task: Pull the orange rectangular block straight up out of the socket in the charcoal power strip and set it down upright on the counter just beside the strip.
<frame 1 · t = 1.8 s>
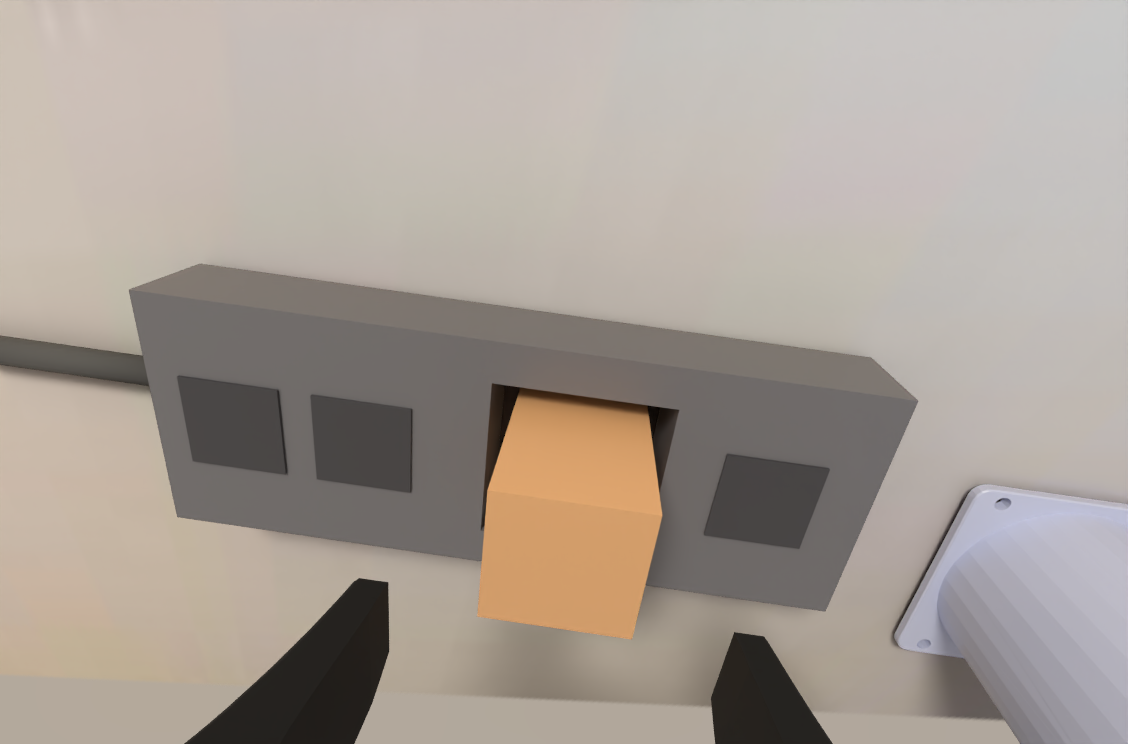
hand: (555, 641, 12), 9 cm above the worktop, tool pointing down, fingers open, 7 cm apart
orange rectangular block: (577, 424, 20), resting in power strip
power strip: (521, 417, 20), on the worktop
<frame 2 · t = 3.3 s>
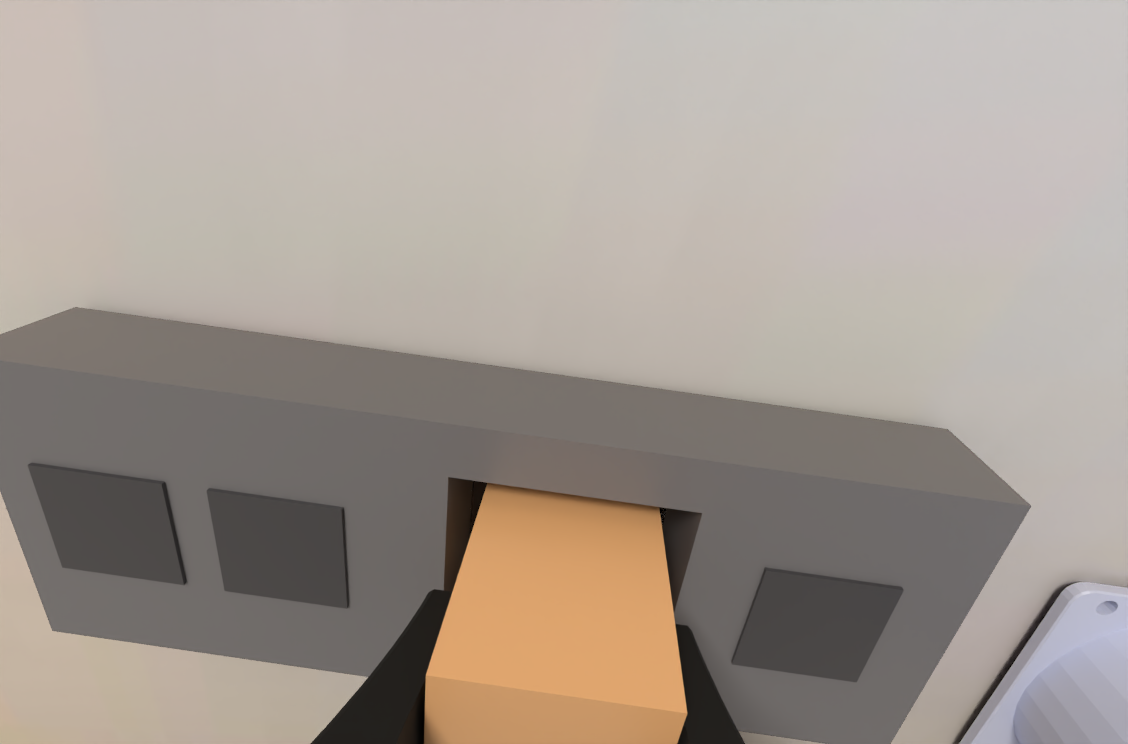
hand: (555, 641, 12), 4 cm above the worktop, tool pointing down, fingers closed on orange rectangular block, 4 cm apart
orange rectangular block: (567, 506, 16), resting in power strip, touching gripper
power strip: (497, 496, 16), on the worktop
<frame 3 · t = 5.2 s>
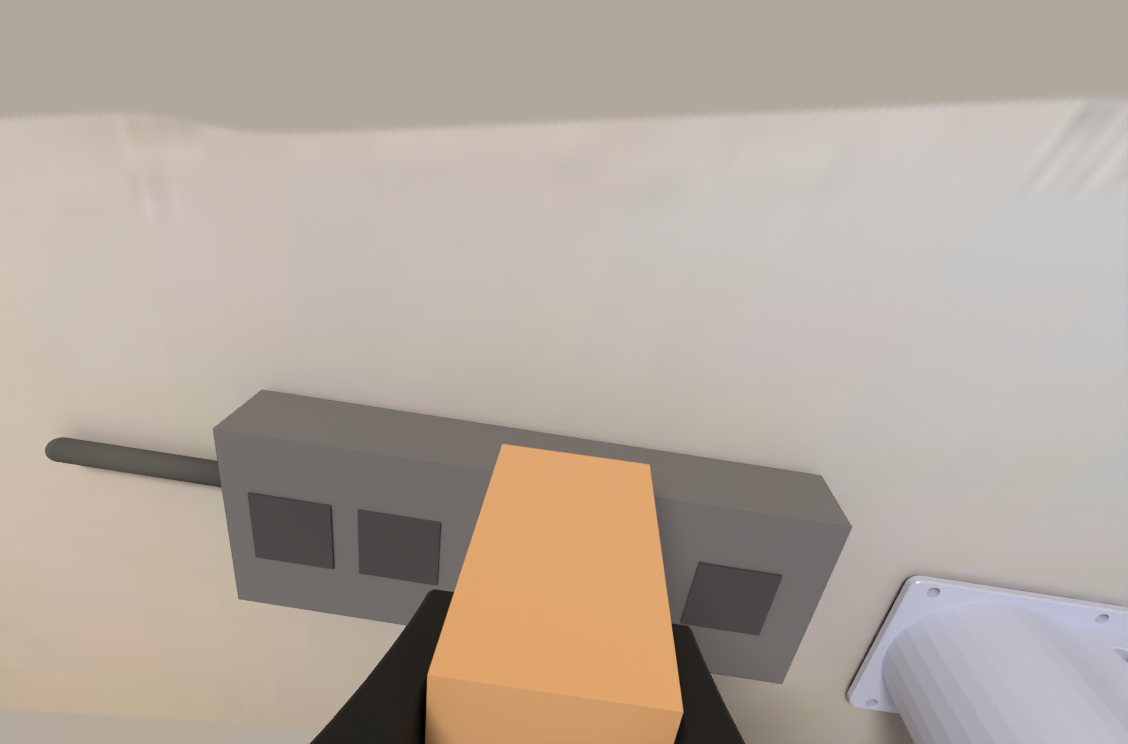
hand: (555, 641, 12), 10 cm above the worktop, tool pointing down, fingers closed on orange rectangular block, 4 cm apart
orange rectangular block: (566, 514, 16), point 6 cm above the worktop, touching gripper
power strip: (529, 513, 23), on the worktop
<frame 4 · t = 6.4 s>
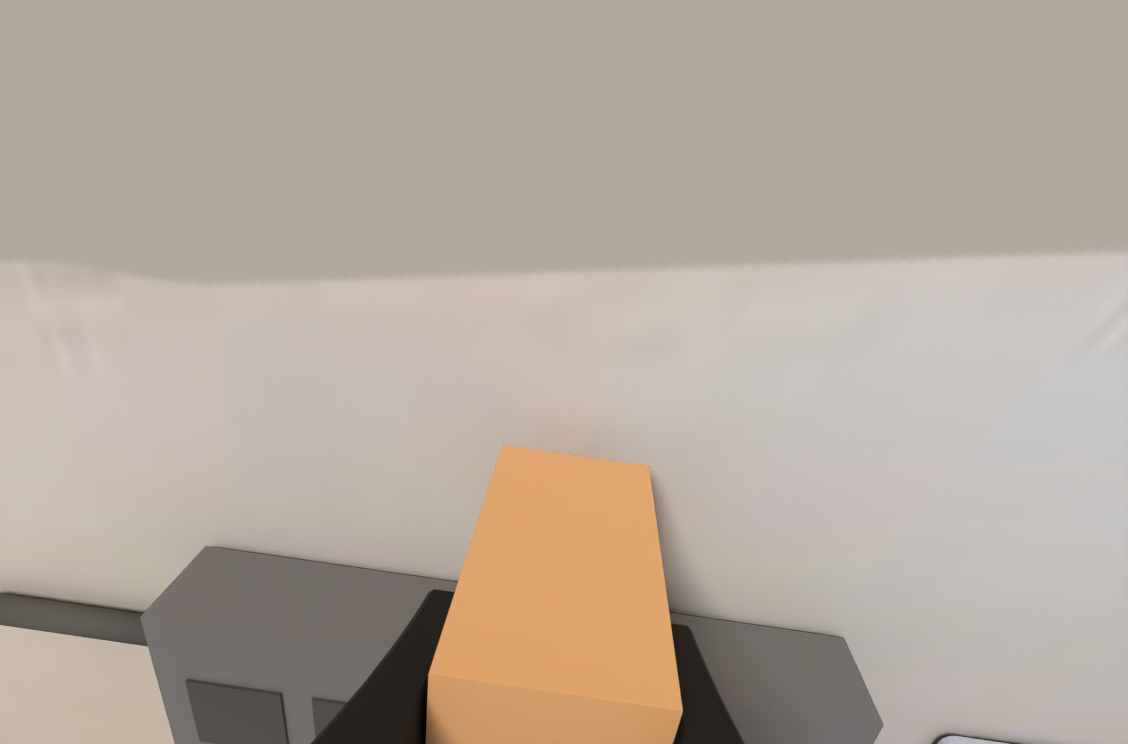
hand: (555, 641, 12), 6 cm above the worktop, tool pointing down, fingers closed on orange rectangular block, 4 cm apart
orange rectangular block: (566, 515, 16), point 1 cm above the worktop, touching gripper
power strip: (513, 670, 21), on the worktop
when the fingers open (6 cm above the worktop, at t = 7.1 s): orange rectangular block drops 1 cm, on the worktop.
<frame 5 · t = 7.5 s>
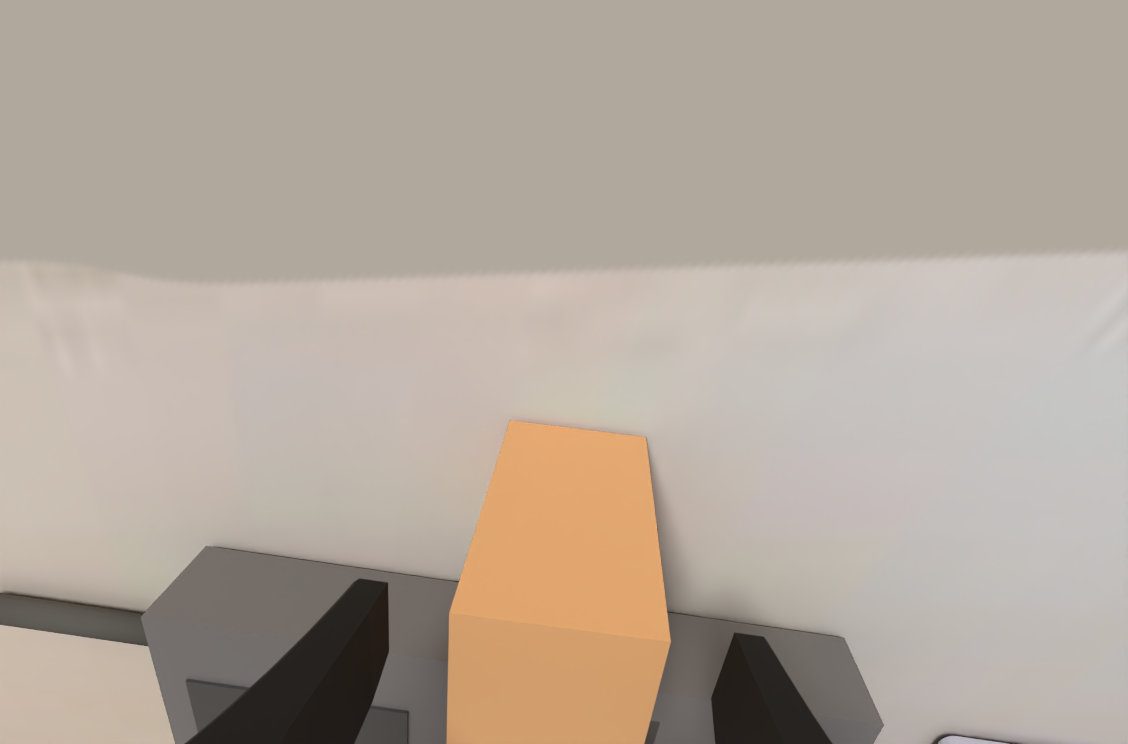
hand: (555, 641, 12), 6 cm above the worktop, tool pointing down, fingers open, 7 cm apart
orange rectangular block: (570, 484, 17), on the worktop
power strip: (513, 670, 21), on the worktop
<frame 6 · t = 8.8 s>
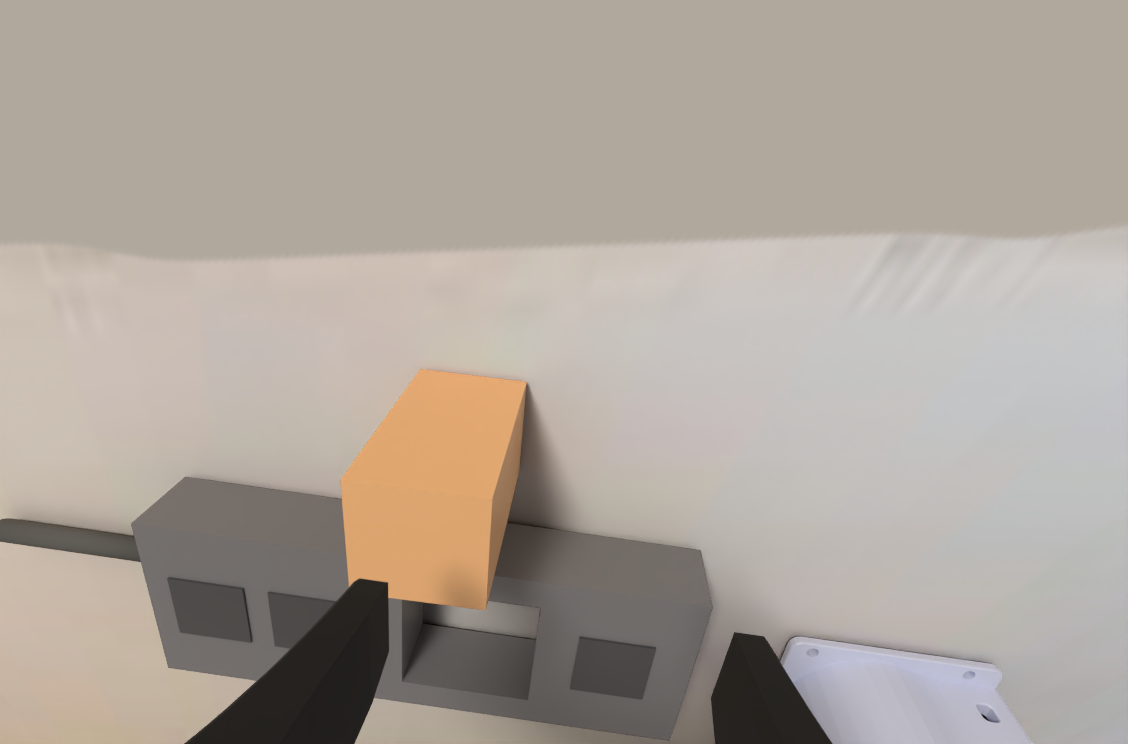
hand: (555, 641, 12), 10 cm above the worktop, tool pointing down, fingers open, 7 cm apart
orange rectangular block: (471, 421, 22), on the worktop
power strip: (439, 583, 25), on the worktop
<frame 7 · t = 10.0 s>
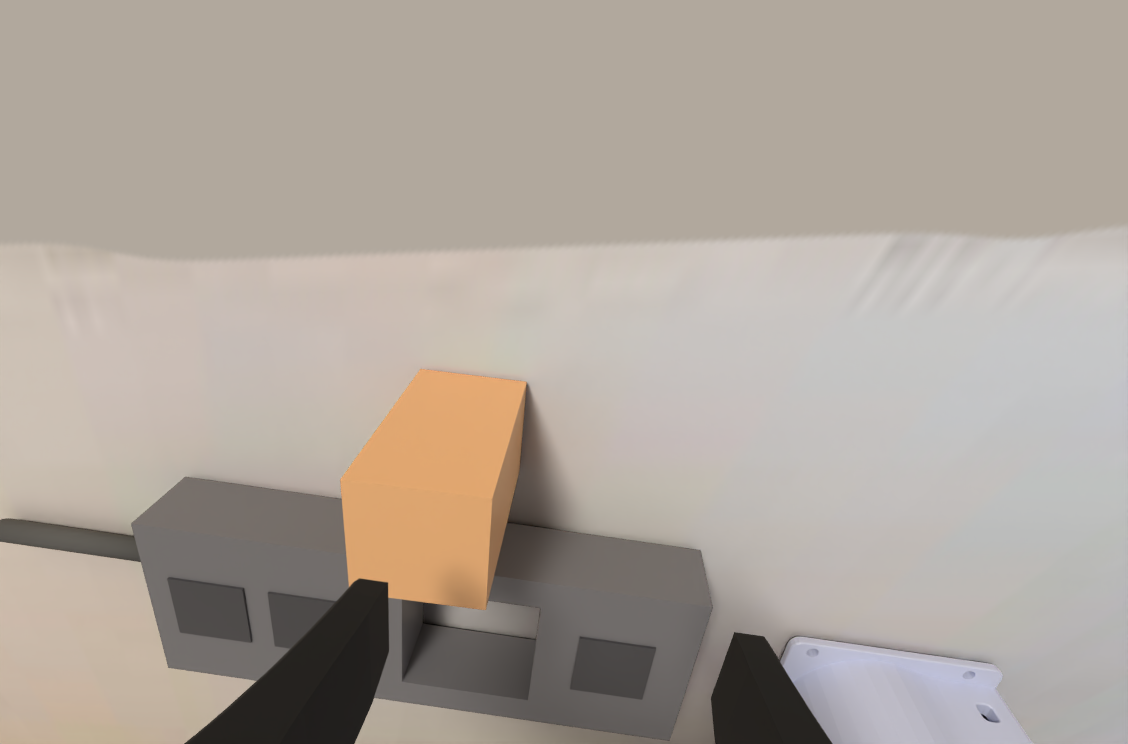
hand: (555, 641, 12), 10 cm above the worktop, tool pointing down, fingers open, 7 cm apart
orange rectangular block: (471, 421, 22), on the worktop
power strip: (439, 583, 25), on the worktop
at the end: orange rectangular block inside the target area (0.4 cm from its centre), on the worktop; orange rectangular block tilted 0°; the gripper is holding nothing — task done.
